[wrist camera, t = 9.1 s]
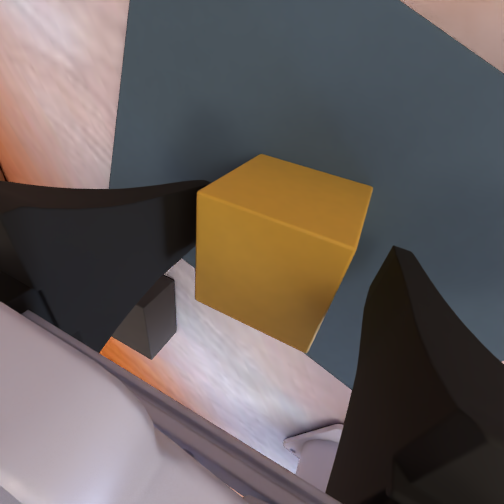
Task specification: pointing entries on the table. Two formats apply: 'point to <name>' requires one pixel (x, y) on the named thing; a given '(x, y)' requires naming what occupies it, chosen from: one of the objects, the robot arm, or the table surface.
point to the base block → (150, 320)
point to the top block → (277, 245)
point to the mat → (331, 134)
